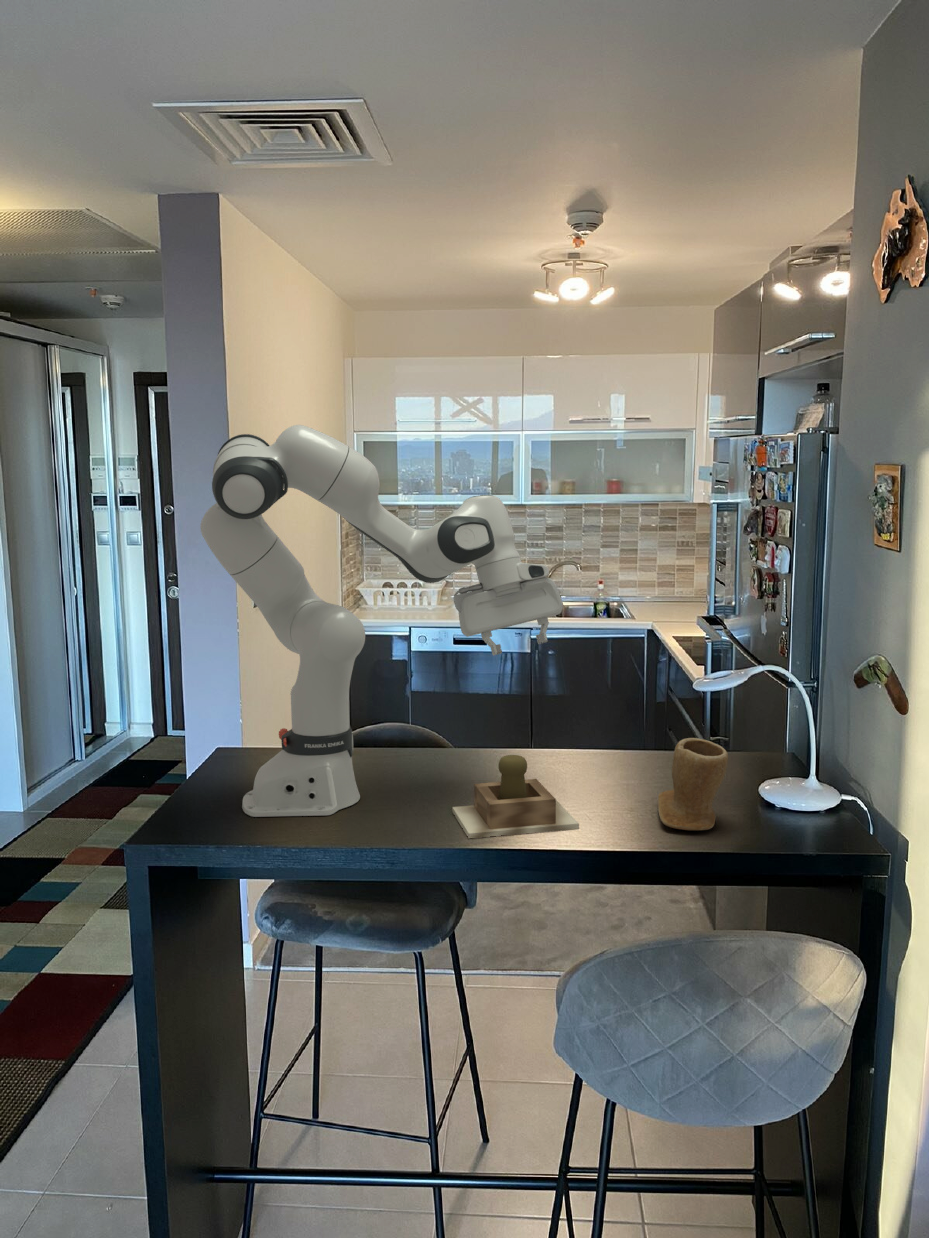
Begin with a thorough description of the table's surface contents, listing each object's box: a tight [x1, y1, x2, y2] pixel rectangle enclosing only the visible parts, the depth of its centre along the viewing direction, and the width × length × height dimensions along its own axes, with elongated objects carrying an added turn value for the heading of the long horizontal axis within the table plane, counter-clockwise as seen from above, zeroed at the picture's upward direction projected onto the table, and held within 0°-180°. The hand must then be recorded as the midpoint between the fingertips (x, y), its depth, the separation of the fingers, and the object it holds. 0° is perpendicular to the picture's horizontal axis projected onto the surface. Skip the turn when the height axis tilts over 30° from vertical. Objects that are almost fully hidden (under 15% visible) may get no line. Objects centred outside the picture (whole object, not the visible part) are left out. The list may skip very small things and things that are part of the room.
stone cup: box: [657, 737, 729, 831], centre depth 173 cm, size 15×12×15 cm
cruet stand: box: [451, 778, 580, 839], centre depth 175 cm, size 20×14×6 cm
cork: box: [497, 754, 528, 800], centre depth 174 cm, size 6×6×11 cm
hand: (520, 648), depth 183 cm, fingers open, 8 cm apart
